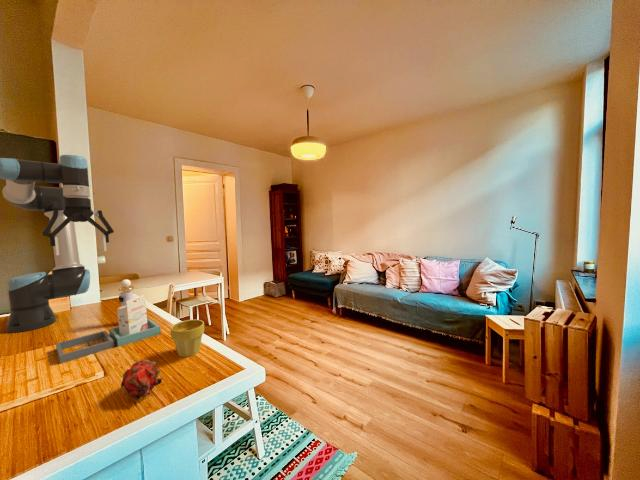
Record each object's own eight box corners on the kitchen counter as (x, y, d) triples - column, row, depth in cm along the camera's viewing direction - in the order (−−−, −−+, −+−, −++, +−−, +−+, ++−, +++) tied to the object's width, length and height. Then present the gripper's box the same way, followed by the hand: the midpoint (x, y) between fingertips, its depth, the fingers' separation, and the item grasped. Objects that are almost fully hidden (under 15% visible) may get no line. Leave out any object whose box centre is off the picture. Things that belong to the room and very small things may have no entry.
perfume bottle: (134, 319, 123) (131, 277, 121) (138, 322, 119) (135, 279, 117) (119, 323, 118) (116, 279, 117) (123, 326, 114) (119, 281, 113)
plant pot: (212, 348, 93) (210, 321, 92) (186, 362, 83) (184, 333, 83) (191, 342, 97) (190, 317, 96) (165, 356, 88) (163, 328, 87)
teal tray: (109, 336, 104) (108, 329, 104) (149, 325, 115) (149, 318, 115) (118, 346, 95) (117, 338, 95) (160, 333, 106) (160, 326, 106)
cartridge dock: (56, 350, 94) (55, 343, 94) (105, 336, 104) (105, 330, 104) (60, 363, 85) (59, 356, 85) (114, 347, 95) (113, 340, 95)
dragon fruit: (144, 383, 76) (147, 413, 66) (113, 377, 71) (111, 408, 61) (163, 356, 77) (169, 382, 68) (134, 349, 72) (135, 375, 63)
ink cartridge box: (138, 328, 110) (135, 294, 108) (148, 329, 109) (145, 294, 107) (119, 337, 101) (115, 300, 100) (129, 338, 100) (126, 301, 99)
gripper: (28, 195, 87) (35, 257, 89) (120, 198, 106) (124, 250, 108) (27, 196, 92) (34, 255, 94) (115, 199, 111) (119, 248, 113)
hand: (82, 252), depth 101 cm, fingers open, 13 cm apart
